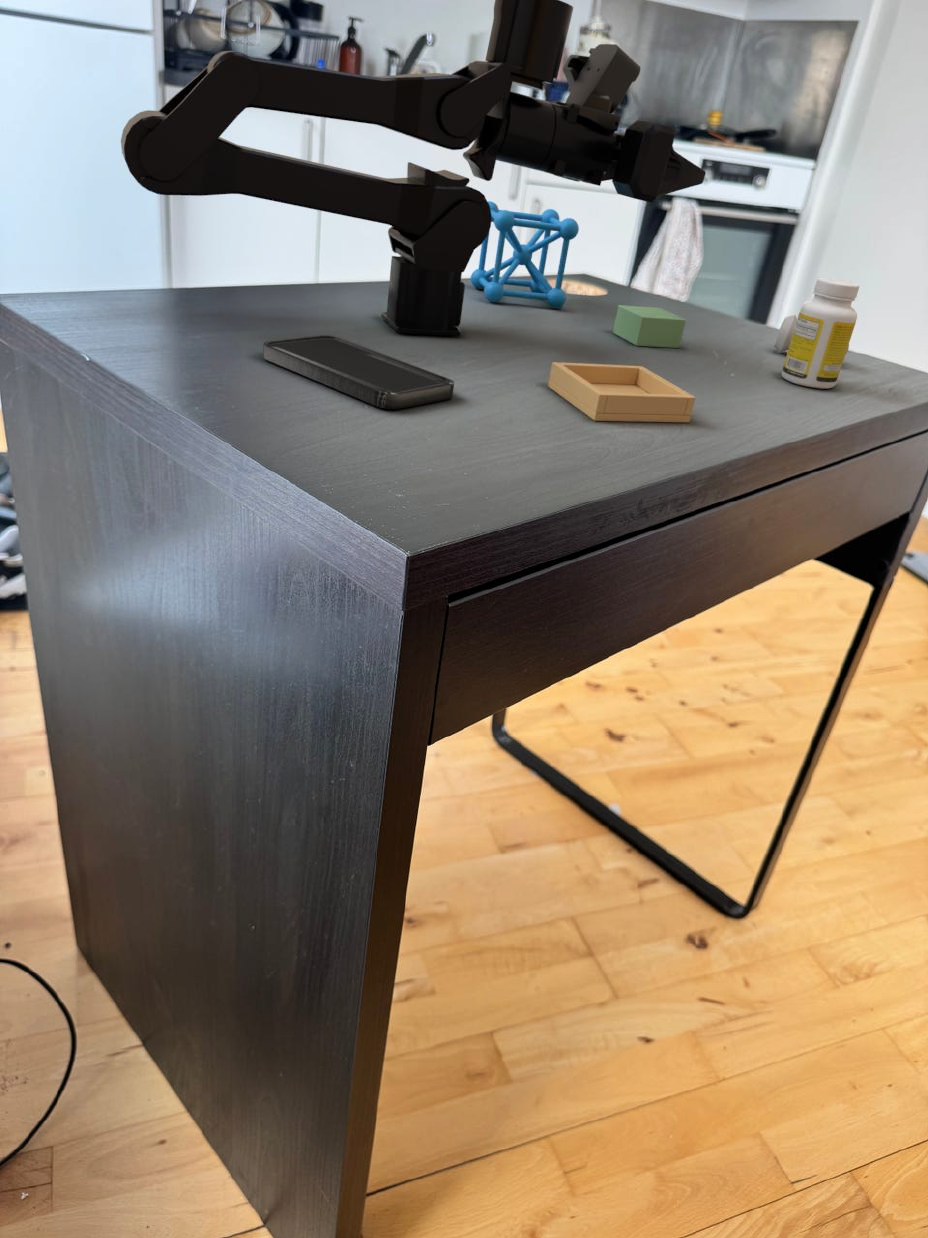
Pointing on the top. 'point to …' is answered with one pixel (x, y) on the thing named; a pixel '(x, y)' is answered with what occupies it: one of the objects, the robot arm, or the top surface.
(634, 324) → the green pad
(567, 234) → the molecular structure
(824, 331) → the supplement bottle
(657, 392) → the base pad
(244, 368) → the top surface
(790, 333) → the smooth white sculpture
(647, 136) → the robot arm
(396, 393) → the phone
